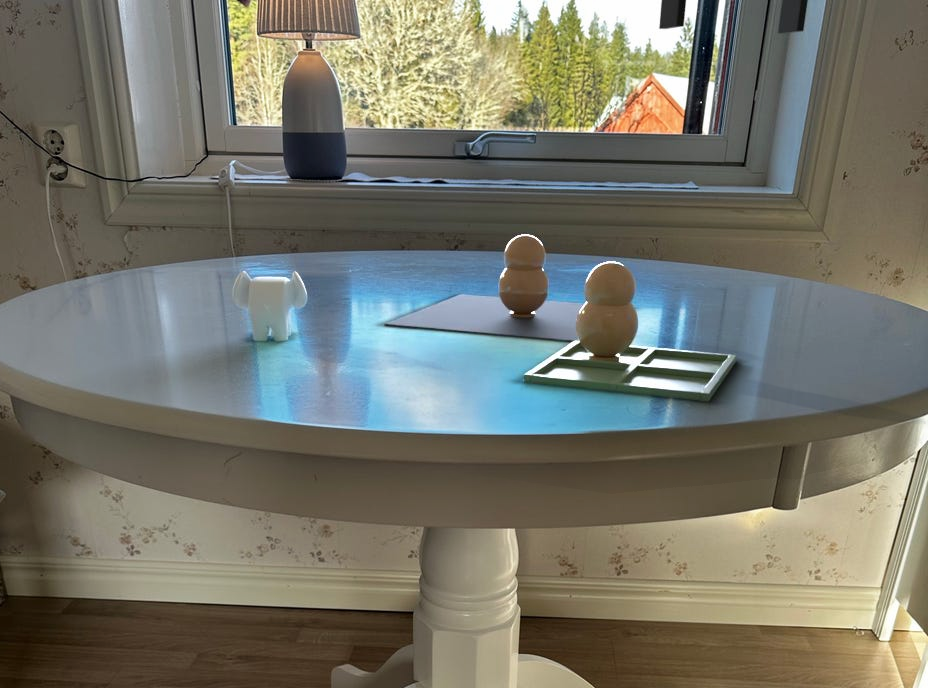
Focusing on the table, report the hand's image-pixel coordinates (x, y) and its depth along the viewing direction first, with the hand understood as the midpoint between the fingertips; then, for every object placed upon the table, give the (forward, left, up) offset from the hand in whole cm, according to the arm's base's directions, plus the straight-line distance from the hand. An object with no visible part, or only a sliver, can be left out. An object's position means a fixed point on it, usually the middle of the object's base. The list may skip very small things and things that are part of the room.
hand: (732, 30), depth 89 cm
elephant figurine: (+34, +29, -26) cm, 52 cm away
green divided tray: (0, +29, -26) cm, 39 cm away
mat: (+17, +10, -26) cm, 32 cm away
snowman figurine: (+3, +25, -25) cm, 36 cm away
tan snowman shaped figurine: (+16, +10, -25) cm, 31 cm away
